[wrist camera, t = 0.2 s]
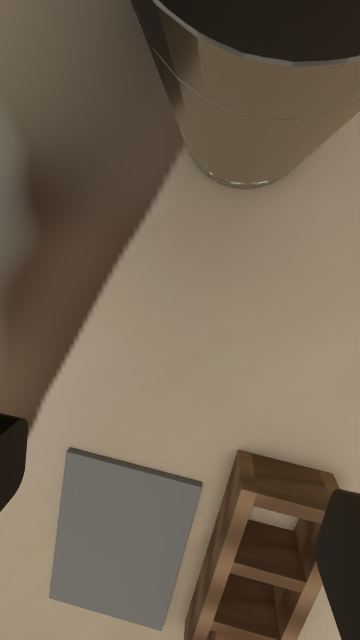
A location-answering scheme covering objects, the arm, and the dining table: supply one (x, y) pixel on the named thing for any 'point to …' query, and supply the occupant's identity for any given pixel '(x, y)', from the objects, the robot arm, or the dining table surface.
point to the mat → (120, 537)
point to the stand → (261, 554)
